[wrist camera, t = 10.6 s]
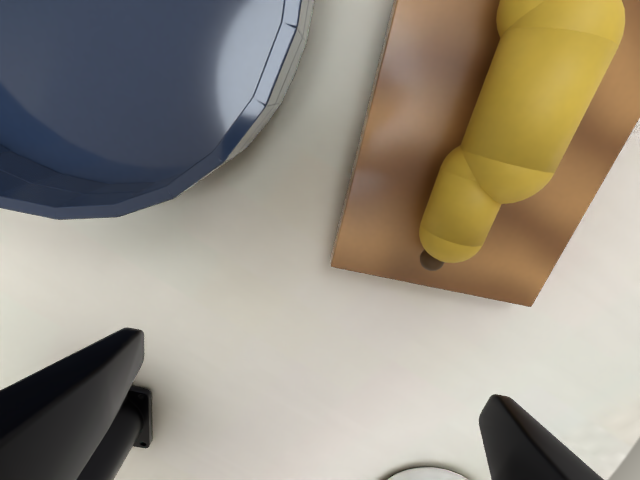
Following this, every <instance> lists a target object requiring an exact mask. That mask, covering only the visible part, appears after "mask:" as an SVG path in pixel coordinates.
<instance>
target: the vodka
mask: <svg viewBox="0 0 640 480" xmlns="http://www.w3.org/2000/svg"><path fill="white" fill-rule="evenodd" d="M387 480H468V479H467V478H465V477H464V476H462V475H460V474H458V473H455V472H452V471H449V470H446V469H442V468H435V467H418V468H412V469H408V470H404V471H402V472H399V473H397V474H395V475H393V476H392V477H390V478H389V479H387Z"/></svg>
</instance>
